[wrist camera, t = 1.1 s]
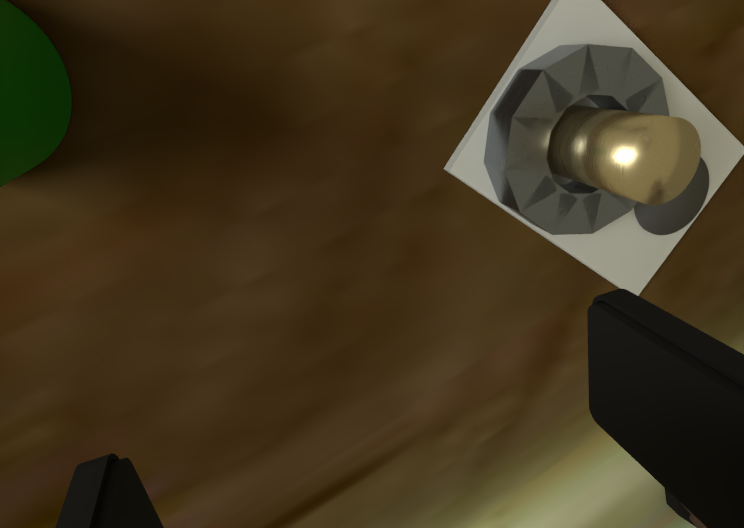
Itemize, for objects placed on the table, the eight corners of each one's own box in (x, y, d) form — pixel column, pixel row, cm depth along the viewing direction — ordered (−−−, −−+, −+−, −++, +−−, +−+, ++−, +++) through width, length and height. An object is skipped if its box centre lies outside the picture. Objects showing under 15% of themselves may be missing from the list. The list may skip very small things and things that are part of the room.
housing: (558, 7, 35) (587, 2, 32) (666, 111, 40) (699, 115, 37) (452, 170, 37) (471, 179, 34) (569, 250, 42) (593, 262, 39)
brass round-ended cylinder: (562, 90, 37) (666, 98, 28) (605, 128, 39) (715, 147, 30) (521, 151, 38) (610, 178, 29) (566, 186, 40) (662, 220, 31)
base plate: (566, -24, 35) (578, -27, 34) (736, 147, 44) (750, 150, 43) (443, 168, 38) (450, 172, 36) (627, 294, 47) (638, 300, 45)
